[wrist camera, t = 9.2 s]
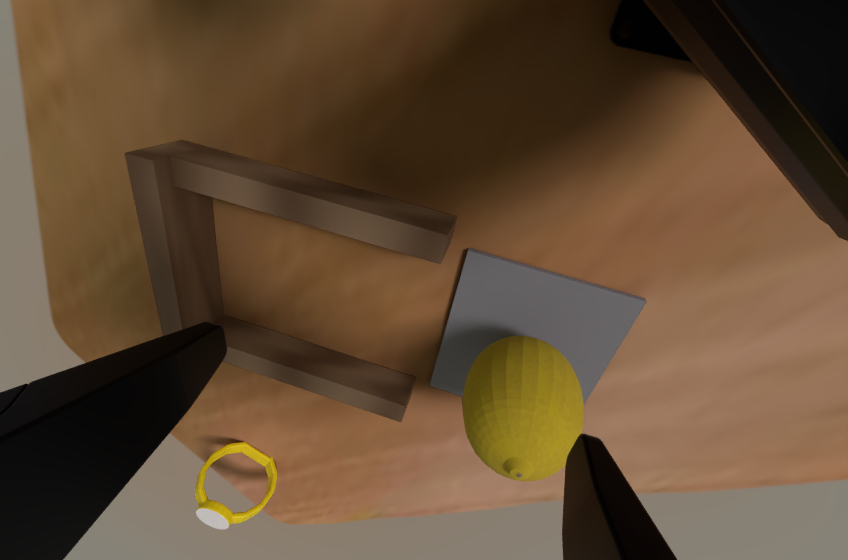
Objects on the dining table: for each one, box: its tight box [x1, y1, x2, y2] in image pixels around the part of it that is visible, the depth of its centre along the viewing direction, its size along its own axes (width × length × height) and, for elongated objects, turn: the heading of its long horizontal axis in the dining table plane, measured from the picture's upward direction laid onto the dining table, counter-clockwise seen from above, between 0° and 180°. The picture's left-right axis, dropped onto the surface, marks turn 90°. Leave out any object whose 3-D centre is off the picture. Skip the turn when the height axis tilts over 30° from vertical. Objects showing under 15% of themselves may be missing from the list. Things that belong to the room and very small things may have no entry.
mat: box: [429, 248, 646, 404], centre depth 22 cm, size 9×10×1 cm
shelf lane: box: [125, 140, 457, 422], centre depth 22 cm, size 16×13×4 cm
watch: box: [195, 442, 277, 529], centre depth 32 cm, size 6×3×6 cm, turn 58°
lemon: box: [462, 336, 584, 481], centre depth 19 cm, size 6×6×8 cm
